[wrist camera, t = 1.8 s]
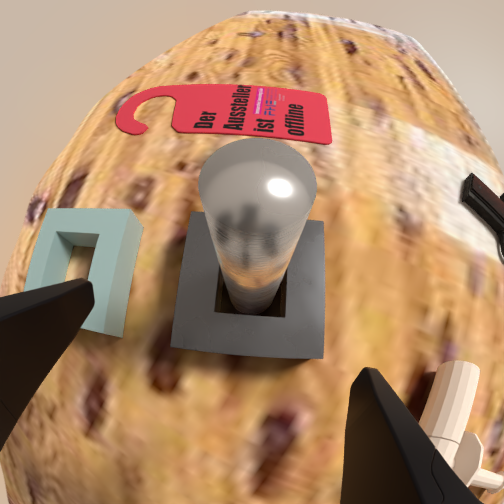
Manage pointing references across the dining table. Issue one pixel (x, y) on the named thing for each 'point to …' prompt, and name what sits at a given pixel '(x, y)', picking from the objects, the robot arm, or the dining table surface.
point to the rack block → (103, 264)
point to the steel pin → (255, 215)
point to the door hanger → (238, 111)
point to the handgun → (485, 204)
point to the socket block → (247, 326)
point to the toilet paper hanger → (457, 424)
